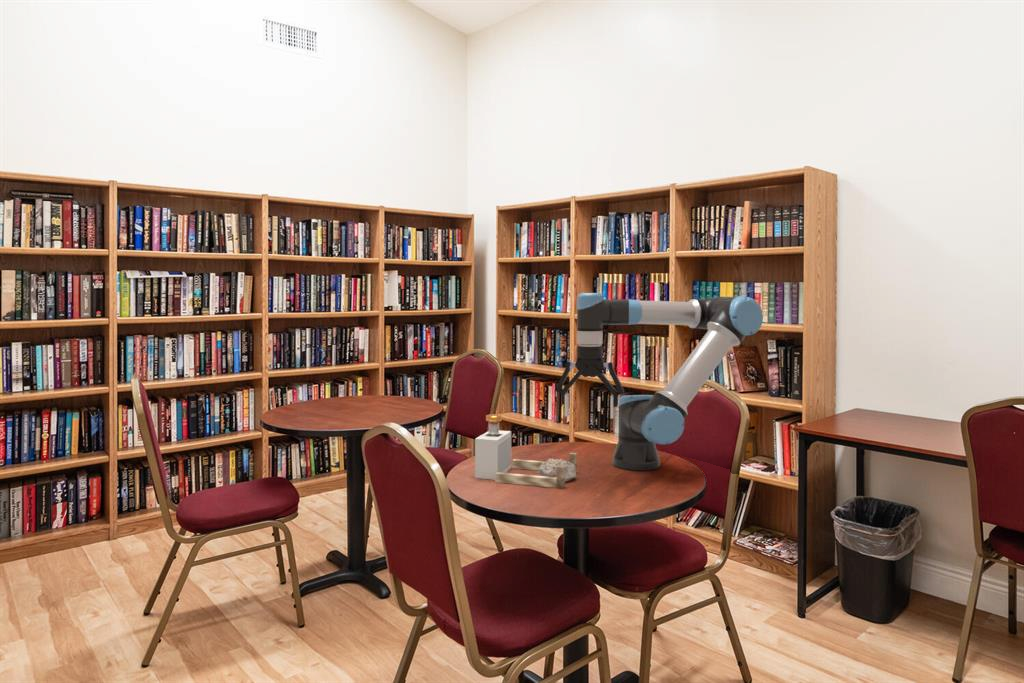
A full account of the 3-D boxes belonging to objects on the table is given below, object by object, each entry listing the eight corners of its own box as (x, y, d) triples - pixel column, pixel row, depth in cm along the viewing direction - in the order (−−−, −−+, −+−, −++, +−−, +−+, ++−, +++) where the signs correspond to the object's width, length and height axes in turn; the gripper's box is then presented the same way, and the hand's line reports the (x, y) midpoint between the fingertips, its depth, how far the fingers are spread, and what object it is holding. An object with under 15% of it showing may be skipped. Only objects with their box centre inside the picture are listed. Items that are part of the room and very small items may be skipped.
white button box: (511, 468, 211) (511, 431, 210) (497, 479, 198) (497, 440, 197) (490, 466, 213) (490, 429, 212) (475, 477, 200) (475, 438, 199)
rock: (558, 473, 207) (558, 454, 206) (580, 480, 198) (580, 461, 197) (529, 478, 201) (529, 459, 200) (550, 486, 192) (550, 466, 191)
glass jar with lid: (503, 441, 206) (503, 414, 206) (498, 445, 202) (498, 417, 201) (488, 440, 208) (488, 413, 207) (483, 443, 203) (483, 416, 203)
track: (576, 471, 207) (576, 452, 207) (563, 488, 189) (563, 467, 189) (514, 466, 213) (514, 448, 213) (495, 482, 195) (495, 462, 195)
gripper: (633, 345, 195) (633, 416, 196) (551, 343, 202) (550, 412, 203) (631, 347, 188) (630, 421, 189) (545, 345, 195) (545, 416, 196)
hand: (589, 416), depth 196 cm, fingers open, 13 cm apart
